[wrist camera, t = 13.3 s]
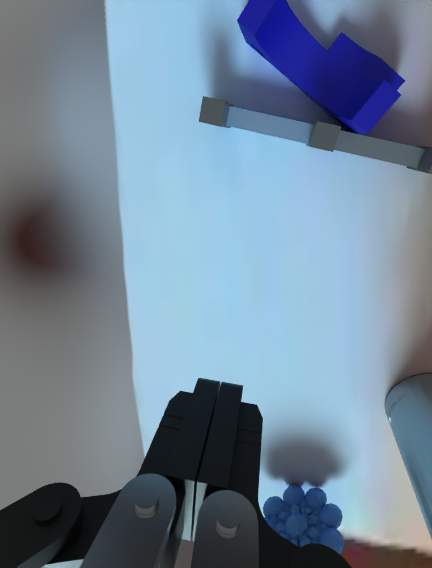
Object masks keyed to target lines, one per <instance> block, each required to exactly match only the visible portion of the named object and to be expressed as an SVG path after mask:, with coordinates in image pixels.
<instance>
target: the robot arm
mask: <svg viewBox="0 0 432 568" xmlns="http://www.w3.org/2000/svg"><path fill="white" fill-rule="evenodd" d="M242 391H243V385H237V384H231V383H226V382H222V383H221V386H220V381H214V380H208V379H203V378H198V380H197V383H196V386H195V389H194V392H193V393H189V392H184V391H180V392H179V393H177V394H176V395H175V396H174V397H173V398H172V399H171V400H170V401H169V403H168V405H167V408H166V410H165V412H164V416H163V417H162V419H161V422H160V424H159V428H158V429H157V431H156V434H155V436H154V438H153V441H152V443H151V445H150V448H149V450H148V452H147V455H146V457H145V459H144V462H143V464H142V466H141V469H140V471H139V473H138V474H137V476H136V477H135V478H134V479H132V480H130V481H129V482H128V483H127V484H126V485H125V486H124V487H123V488H122V489H121V490H119V491H117V492H114V493H111V494H106V495H100V496H99V495H98V496H91V497H82V498H81V497H80V494H79V492H78V491H77V489H76V488H75V487H73V486H72V485H70V484H67V483H53V484H48V485H46V486H43V487H41V488H39V489H37V490H36V491H34V492H32V493H30V494H28V495H27V496H25V497H23V498H21V499H20V500H18V501H16V502H14V503H12V504H11V505H9V506H7V507H5V508H4V509H2V510H0V568H174V566H175V562H176V559H177V555H178V550H179V546H180V542H181V539H185V540H189V541H190V540H191V535H192V531H193V526H194V532H193V541H194V546H193V553H192V560H191V567H190V568H351V566H350V565H349V564H348V563H347V561H346V560H345V559H344V558H343V557H342V556H341V555H340V554H339V553H337V552H336V551H335V550H333V549H332V548H330V547H328V546H325V545H322V544H317V543H310V544H306V545H304V546H302V547H299V546H297V545H295V544H294V543H292V542H290V541H289V540H287V539H286V538H284V537H282V536H281V535H279V534H278V533H277V532H275V531H274V530H273V529H272V528H271V527H270V526H269V524H268V523H267V522H266V520H265V519H264V517H263V515H262V513H261V510H260V507H259V503H258V487H259V471H260V455H261V439H262V422H263V418H262V416H261V413H260V411H259V408H258V406H257V405H255V404H249V403H244V402H241V398H242ZM385 410H386V415H387V417H388V420H389V423H390V426H391V428H392V431H393V434H394V437H395V440H396V443H397V445H398V448H399V451H400V454H401V456H402V459H403V462H404V465H405V467H406V470H407V473H408V476H409V478H410V481H411V484H412V487H413V489H414V492H415V495H416V498H417V500H418V503H419V506H420V509H421V511H422V514H423V517H424V520H425V522H426V525H427V528H428V531H429V533H430V536H431V539H432V374H422V375H417V376H413V377H410V378H408V379H405V380H404V381H402V382H400V383H398V384H397V385H396V386H395V387H394V388H393V389H392V390H391V391H390V393H389V394H388V396H387V398H386V401H385Z"/></svg>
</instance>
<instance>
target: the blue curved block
mask: <svg viewBox="0 0 432 568" xmlns="http://www.w3.org/2000/svg"><path fill="white" fill-rule="evenodd" d="M237 21H238V24H239V26H240V29H241V31H242V33H243V36H244V38H245V41H246V43H248V44H249V45H250V46H251V47H252V48H253V49H254V50H256V51H257V52H258V53H259V54H260V55H261V56H263V57H264V58H265V59H266V60H267V61H268V62H269V63H271V64H272V65H273V66H274V67H275V68H276V69H278V70H279V71H280V72H281V73H282V74H283V75H285V76H286V77H287V78H288V79H289V80H290V81H291V82H293V83H294V84H295V85H296V86H297V87H298V88H300V89H301V90H302V91H303V92H304V93H305V94H307V95H308V96H309V97H310V98H311V99H312V100H313V101H315V102H316V103H317V104H318V105H319V106H320V107H322V108H323V109H324V110H325V111H326V112H327V113H329V114H330V115H331V116H332V117H333V118H334V119H335V120H337V121H338V122H339V123H340V124H341V125H342V126H344V127H345V128H346V129H347V130H348V131H349V132H351V133H355V134H367V133H368V132H369V131H370V130H371V129H372V128H373V127H374V125H375V124H376V123H377V122H378V121H379V120H380V119H381V117H382V116H383V115H384V114H385V113H386V112H387V111H388V109H389V108H390V107H391V106H392V105H393V104H394V103H395V101H396V100H397V99H398V98H399V97H400V96H401V94H400V93H399V92H398V91H397V90H398V89H399V87H400V86H401V85H402V84H403V83H404V82H405V80H404V79H403V78H402V77H401V76H399V75H398V74H397V73H396V72H395V71H394V70H393V69H392V68H391V67H389V66H388V65H387V64H386V63H385V62H384V61H383V60H382V59H381V58H379V57H378V56H376V55H374V54H372V53H370V52H368V51H366V50H365V49H363V48H362V47H360V46H359V45H357V44H356V43H354V42H353V41H352V40H351V39H349V38H348V37H347V36H346V35H344V34H343V33H342V32H341V34H340V35H339V36H338V38H337V39H336V40H335V42H334V43H333V45H332V46H331V47H330V49H329V50H328V51H327V50H325V49H324V48H323V47H322V46H321V45H320V44H319V43H318V42H317V41H316V40H315V39H314V38H313V37H312V36H311V35H310V33H309V32H308V31H307V30H306V29H305V28H304V27H303V25H302V24H301V23H300V22H299V20H298V19H297V18H296V16H295V15H294V13H293V12H292V10H291V8H290V7H289V5H288V3H287V1H286V0H249V1H248V3H247V5H246V6H245V8H244V10H243V11H242V13H241V15H240V16H239V18H238V20H237Z"/></svg>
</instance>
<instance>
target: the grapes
mask: <svg viewBox="0 0 432 568" xmlns="http://www.w3.org/2000/svg"><path fill="white" fill-rule="evenodd" d="M326 501H327V498H326V494H325V493H324V491H323V490H321V489H320V488H317V487H316V488H311V489H309V490H308V491H307V493H306V494H305V493H304V491H303V489H302V488H301V487H300V486H297V485H292V486H289V487H288V488H287V489H286V490H285V492H284V494H283V500H282V499H281V498H280V497H278V496H274V497H270V498H269V499H268V500H267V501H266V502H265V504H264V506H263V514H264V515H265V518H264V519H265V520H266V522H267V523H268V524H269V526H270V527H271V528H272V529H273V530H274V531H275V532H277V533H278V534H279V535H281V536H282V537H284V538H286V539H287V540H289V541H290V542H292V543H294V544H295V545H297V546H299V547H302V546H304V545H306V544H310V543H317V544H322V545H325V546H328V547H330V548H332V549H333V550H335V551H336V552H337V553H339V554H340V553H341V552H342V549H343V545H344V540H343V536H342V535H341V533H340V532H339V531H338V530H337V528H338V527H339V526H340V524H341V521H342V512H341V510H340V509H339V508H338V506H336V505H334V504H332V503H331V504H326ZM325 504H326V505H325Z"/></svg>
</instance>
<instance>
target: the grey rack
mask: <svg viewBox="0 0 432 568" xmlns="http://www.w3.org/2000/svg"><path fill="white" fill-rule="evenodd" d="M199 122H203V123H208V124H212V125H216V126H221V127H227V128H230V126H231V127H235V128H240V129H244V130H249V131H253V132H258V133H262V134H267V135H271V136H275V137H280V138H284V139H289V140H293V141H298V142H302V143H307V146H310V147H314V148H318V149H323V150H327V151H332V152H333V150H338V151H342V152H347V153H351V154H356V155H360V156H364V157H369V158H373V159H378V160H382V161H387V162H391V163H396V164H400V165H404V166H407V168H409V169H413V170H417V171H421V172H425V173H429V174H432V147H419V146H416V147H414V146H410V145H405V144H401V143H396V142H392V141H387V140H383V139H378V138H373V137H369V136H364V135H360V134H355V133H351V132H346V131H341V130H340V129H341V126H337V125H332V124H328V123H323V122H319V121H317V122H315V123H313V124H310V123H305V122H300V121H296V120H291V119H287V118H282V117H278V116H273V115H269V114H264V113H259V112H255V111H250V110H246V109H241V108H237V107H234V106H233V105H231V104H229V103H228V102H226V101H222V100H218V99H213V98H209V97H204V96H203V99H202V105H201V112H200V118H199Z"/></svg>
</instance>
